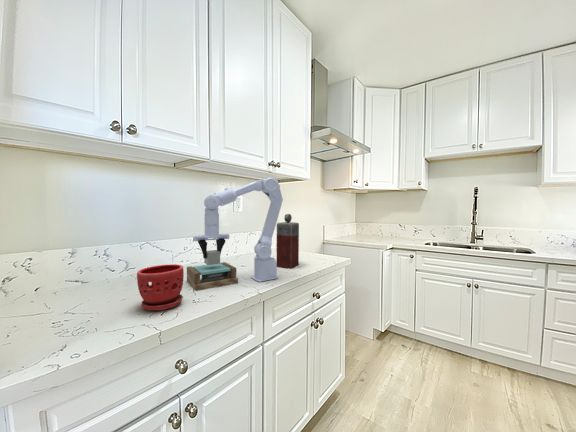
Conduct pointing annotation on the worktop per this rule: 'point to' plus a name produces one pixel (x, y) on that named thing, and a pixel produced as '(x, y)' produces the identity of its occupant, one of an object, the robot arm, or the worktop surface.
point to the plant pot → (160, 286)
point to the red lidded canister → (287, 243)
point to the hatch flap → (212, 271)
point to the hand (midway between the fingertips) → (211, 257)
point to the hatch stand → (194, 281)
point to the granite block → (212, 257)
